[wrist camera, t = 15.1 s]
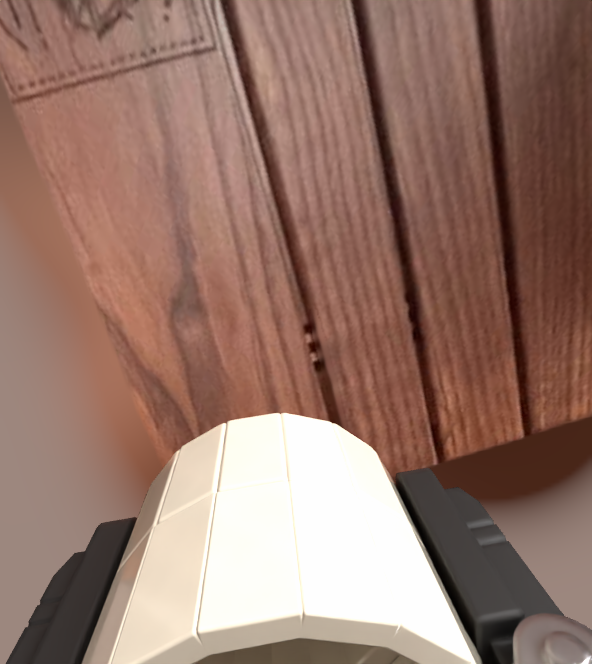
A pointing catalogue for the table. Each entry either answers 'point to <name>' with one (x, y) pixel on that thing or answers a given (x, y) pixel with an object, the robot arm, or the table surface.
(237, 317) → the table surface
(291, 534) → the cream cup
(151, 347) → the table surface
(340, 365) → the table surface
